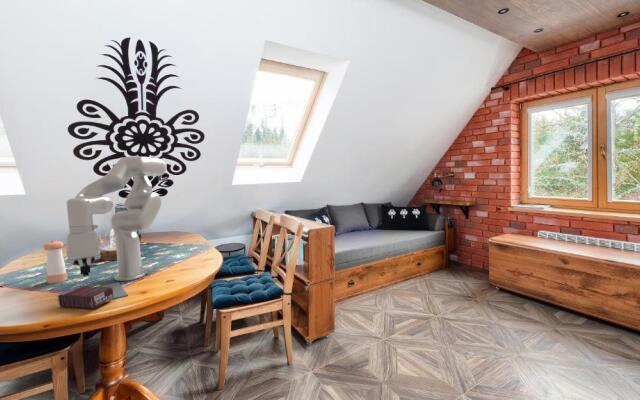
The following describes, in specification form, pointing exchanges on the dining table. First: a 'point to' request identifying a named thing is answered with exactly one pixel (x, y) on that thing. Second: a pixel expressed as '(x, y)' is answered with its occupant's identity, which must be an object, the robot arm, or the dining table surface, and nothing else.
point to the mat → (116, 290)
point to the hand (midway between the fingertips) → (85, 275)
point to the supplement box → (85, 297)
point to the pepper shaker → (55, 262)
